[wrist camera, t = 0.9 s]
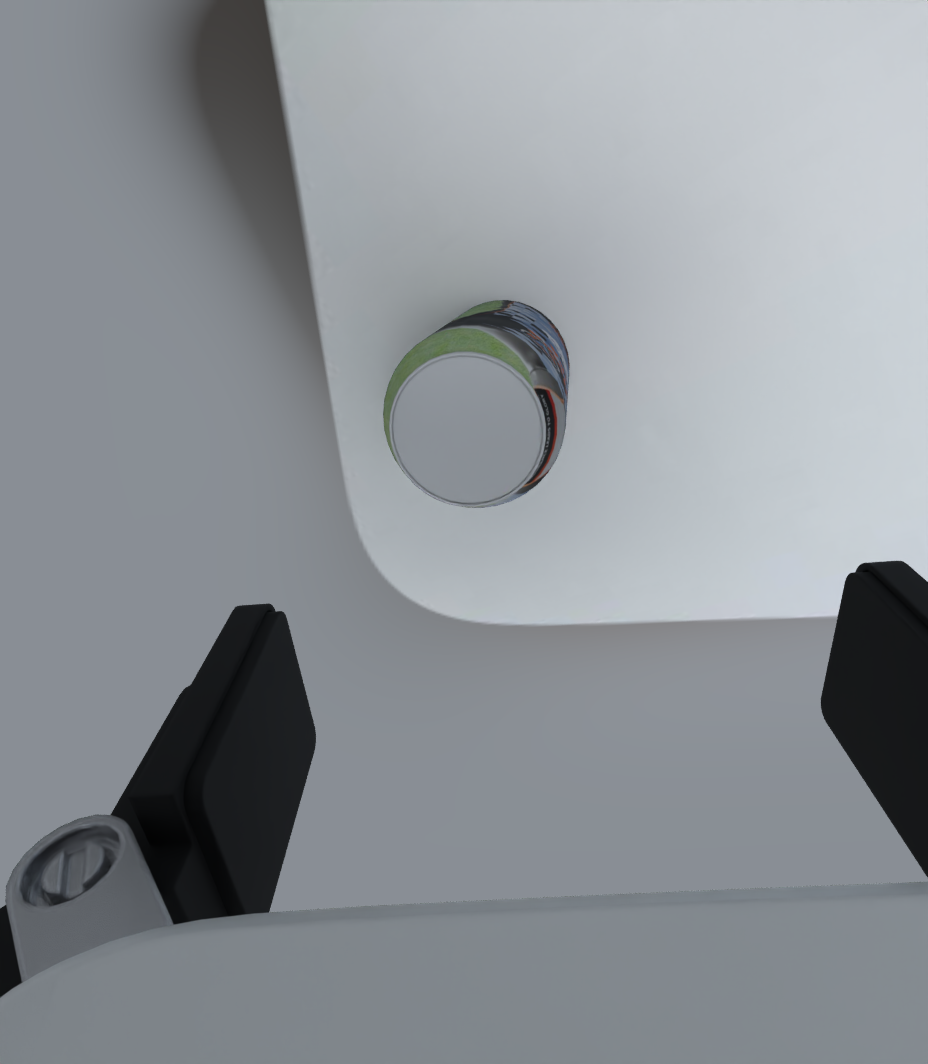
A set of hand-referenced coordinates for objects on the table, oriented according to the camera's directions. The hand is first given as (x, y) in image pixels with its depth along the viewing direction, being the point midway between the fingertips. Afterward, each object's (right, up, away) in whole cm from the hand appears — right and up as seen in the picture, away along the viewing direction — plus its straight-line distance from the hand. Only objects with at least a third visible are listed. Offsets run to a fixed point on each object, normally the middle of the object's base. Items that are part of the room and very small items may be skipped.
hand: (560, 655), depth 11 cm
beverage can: (-1, +10, +20) cm, 22 cm away
